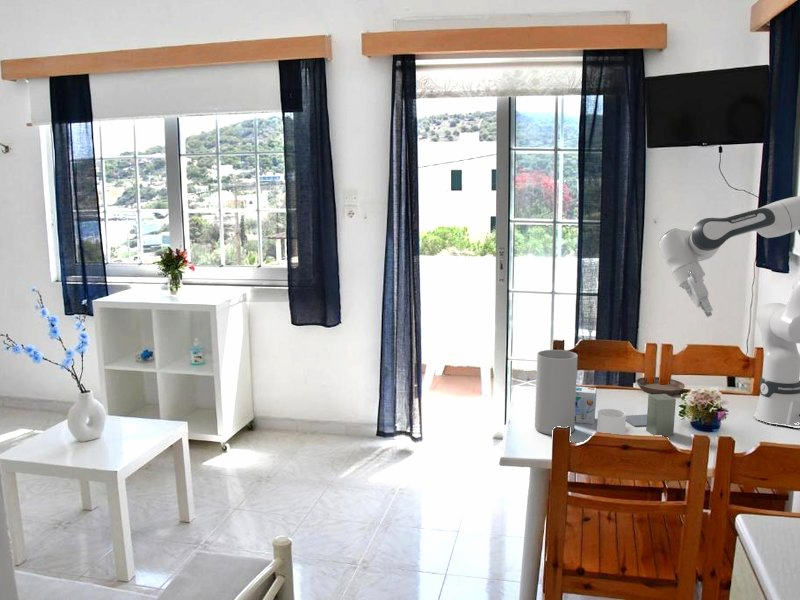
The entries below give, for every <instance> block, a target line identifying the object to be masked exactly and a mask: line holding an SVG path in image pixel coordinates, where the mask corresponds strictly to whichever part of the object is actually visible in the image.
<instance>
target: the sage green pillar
mask: <svg viewBox="0 0 800 600" xmlns="http://www.w3.org/2000/svg"><path fill="white" fill-rule="evenodd" d="M676 401H677V399H676V398H674V397H673V396H672V395H667V394H652V393H651V394H648V398H647V410H646V412H647V413H646V414H647V426H645V428H646V432H647V433H649V434H650V435H652V434H653V435H652V436H654V435H662V437H674V433H675V432H674V431H675V430H674V429H675V416H676Z"/></svg>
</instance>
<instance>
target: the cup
mask: <svg viewBox="0 0 800 600" xmlns="http://www.w3.org/2000/svg"><path fill="white" fill-rule="evenodd" d="M626 416H627V413H626V412H625V411H623V410H620V409H616V408H602V409H599V410H598V411H597V423H596V425H597V427H596V433H597V432H605V433H613V434H622V435H625V436H626V423H627V422H626Z"/></svg>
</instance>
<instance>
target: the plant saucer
mask: <svg viewBox="0 0 800 600" xmlns="http://www.w3.org/2000/svg"><path fill="white" fill-rule="evenodd" d="M645 377H646V376H645ZM645 377H639V378H637V379H636V380H635V381H636V384H637V386H638V388H640V389H641V390H642V392H645V393H647V394H651V395H652V394H667V395H669V396H673V395H674V394H675V395H677V394H680V393H681V392H682V391H683V390H684V389H685V387H686V386H685V384H684V383H683V382H681V381H679V380H676V379H673V378H669V379H670V384H669V382H668V384H667V385H660V384H659V377H660V376H659V377H658V376H654V377H655V381H654V383H653V384H649V382H648V383H647V378H646V380H645ZM680 391H681V392H680Z"/></svg>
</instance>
